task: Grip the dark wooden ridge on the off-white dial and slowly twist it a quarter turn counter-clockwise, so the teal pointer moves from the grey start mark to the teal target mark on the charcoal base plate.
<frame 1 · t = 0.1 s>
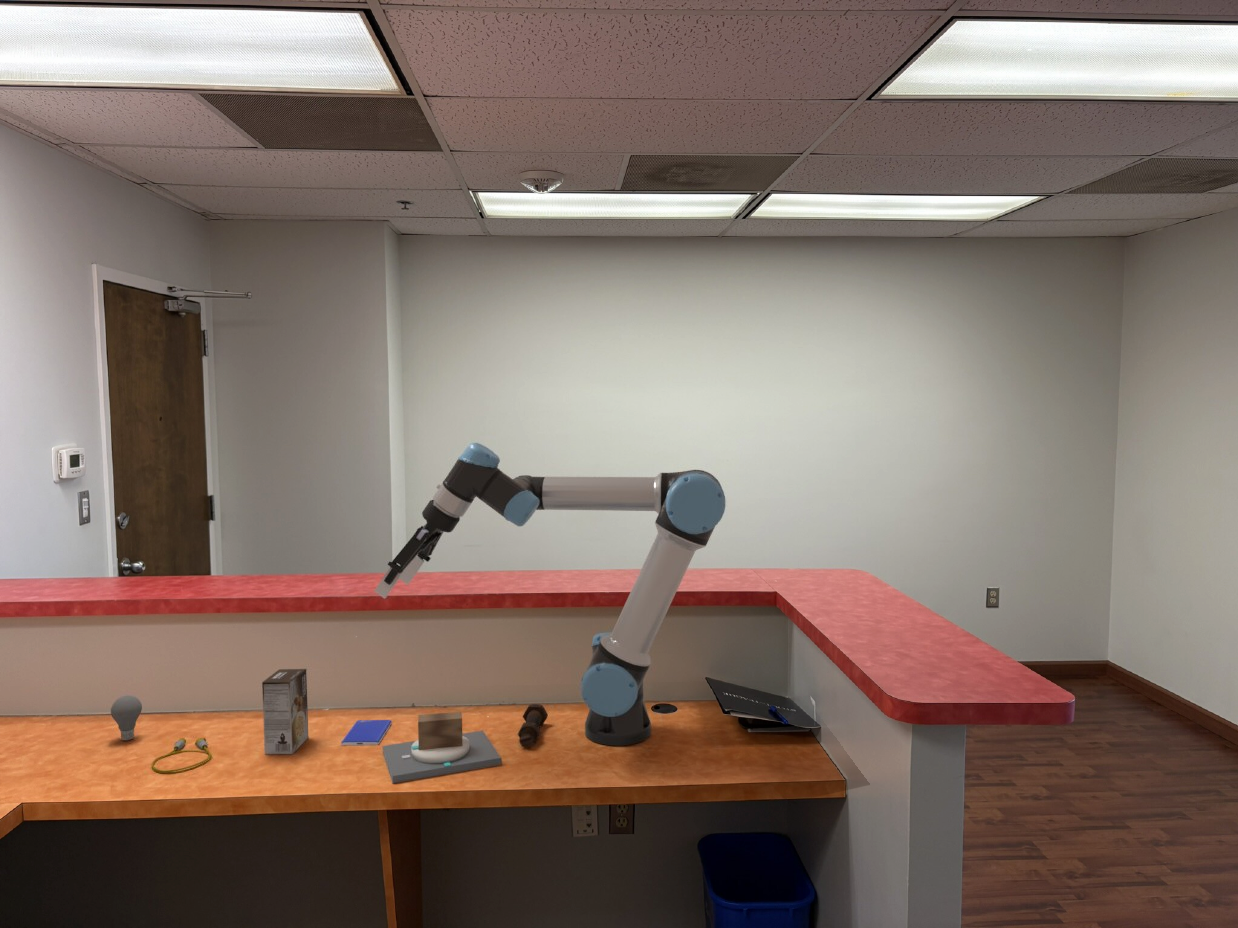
hand: (391, 587, 176), 36 cm above the table, tool tilted 35°, fingers open, 13 cm apart
dial: (440, 733, 173), point 5 cm above the table, hinge at 0.0°
extension cord: (185, 760, 174), on the table
coffee box: (287, 746, 180), on the table
light bulb: (127, 740, 184), on the table
bolt: (530, 738, 185), on the table
hard drive: (367, 737, 187), on the table
dial plate: (440, 758, 174), on the table
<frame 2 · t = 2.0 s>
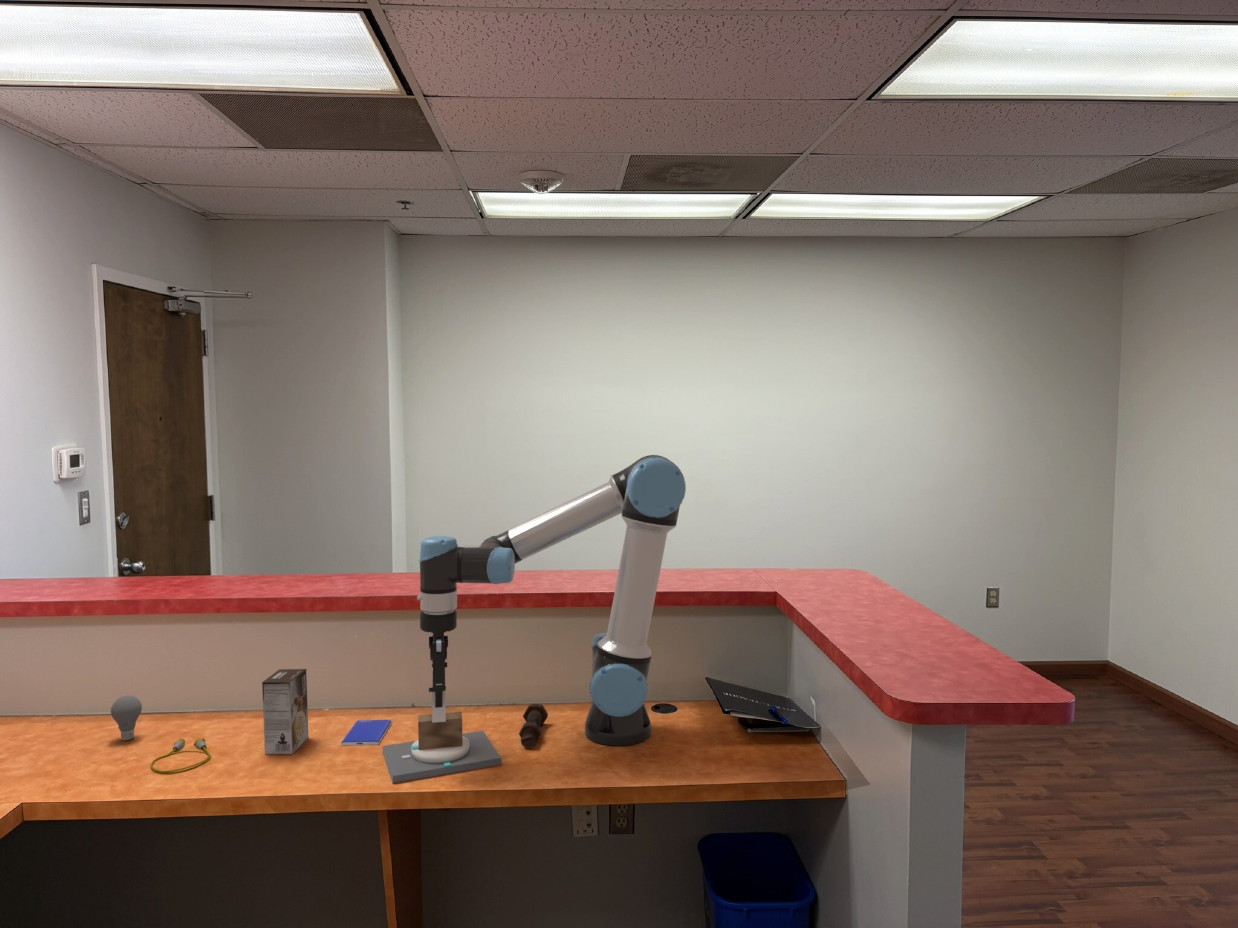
hand: (438, 709, 173), 11 cm above the table, tool pointing down, fingers open, 13 cm apart
nothing on the table moved.
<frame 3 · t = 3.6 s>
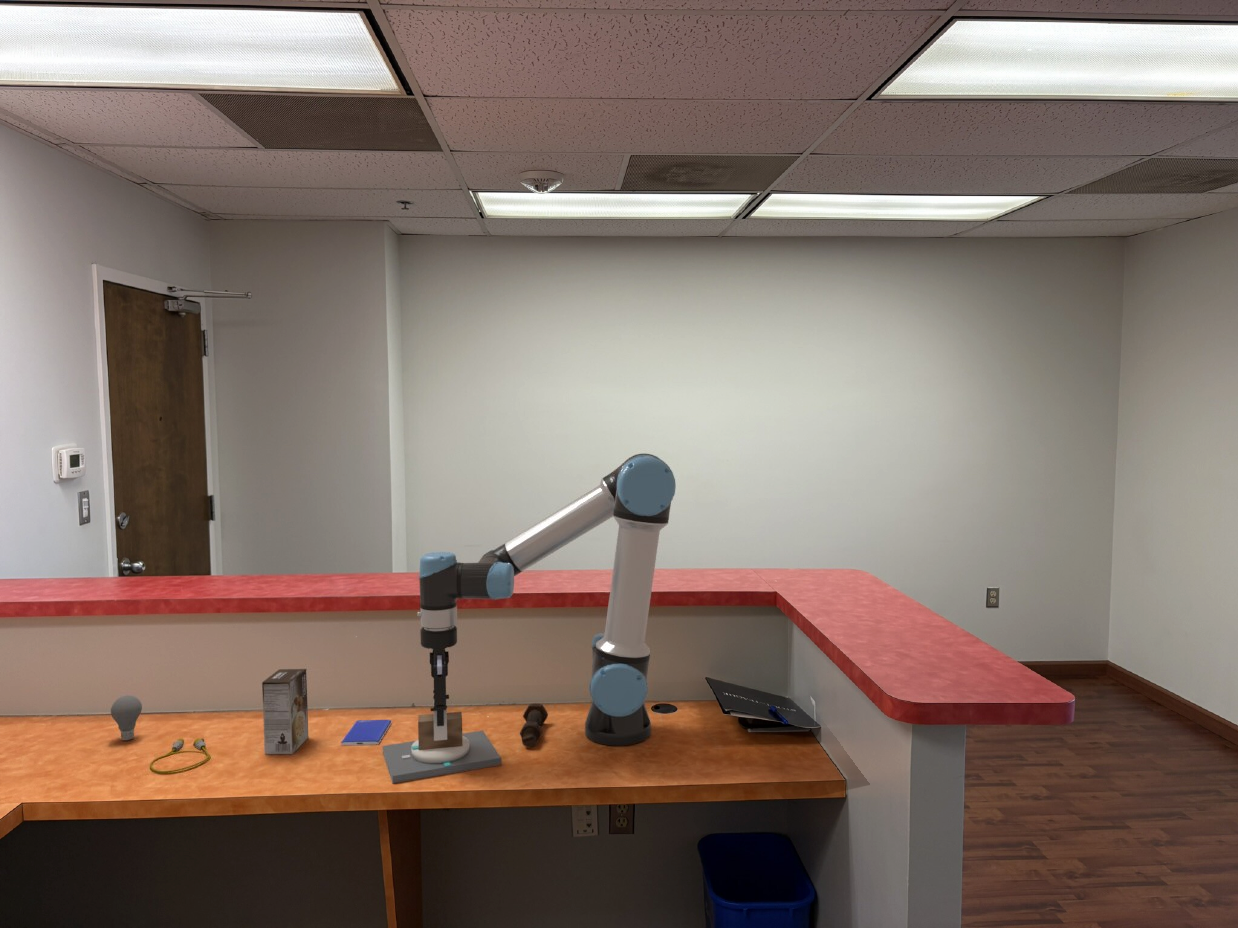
hand: (440, 734, 173), 5 cm above the table, tool pointing down, fingers closed on dial, 4 cm apart
dial: (440, 733, 173), point 5 cm above the table, hinge at 0.0°, touching gripper
everything else where it was.
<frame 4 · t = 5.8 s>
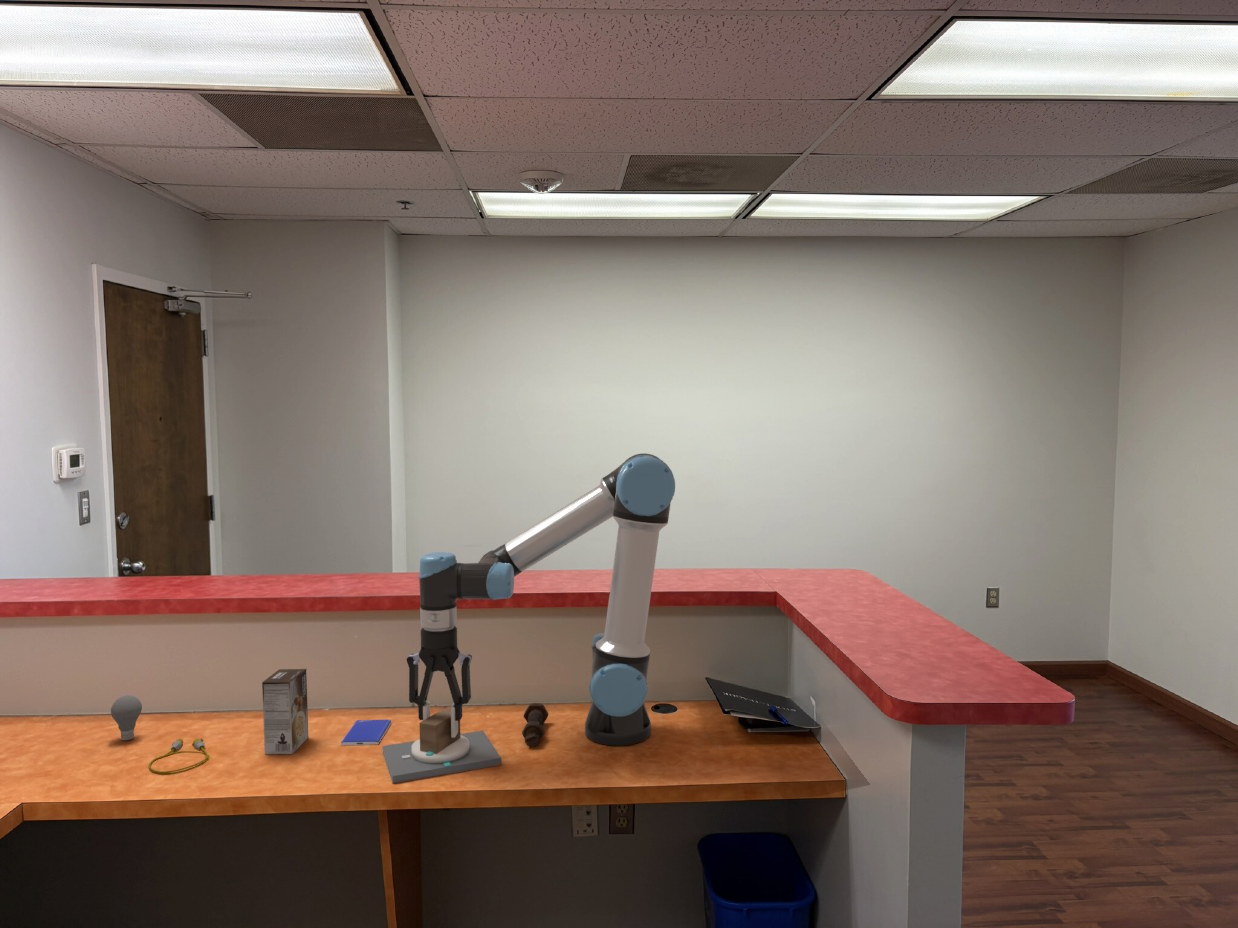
hand: (440, 734, 173), 5 cm above the table, tool pointing down, fingers closed on dial, 5 cm apart
dial: (440, 733, 173), point 5 cm above the table, hinge at 55.3°, touching gripper
everything else where it was.
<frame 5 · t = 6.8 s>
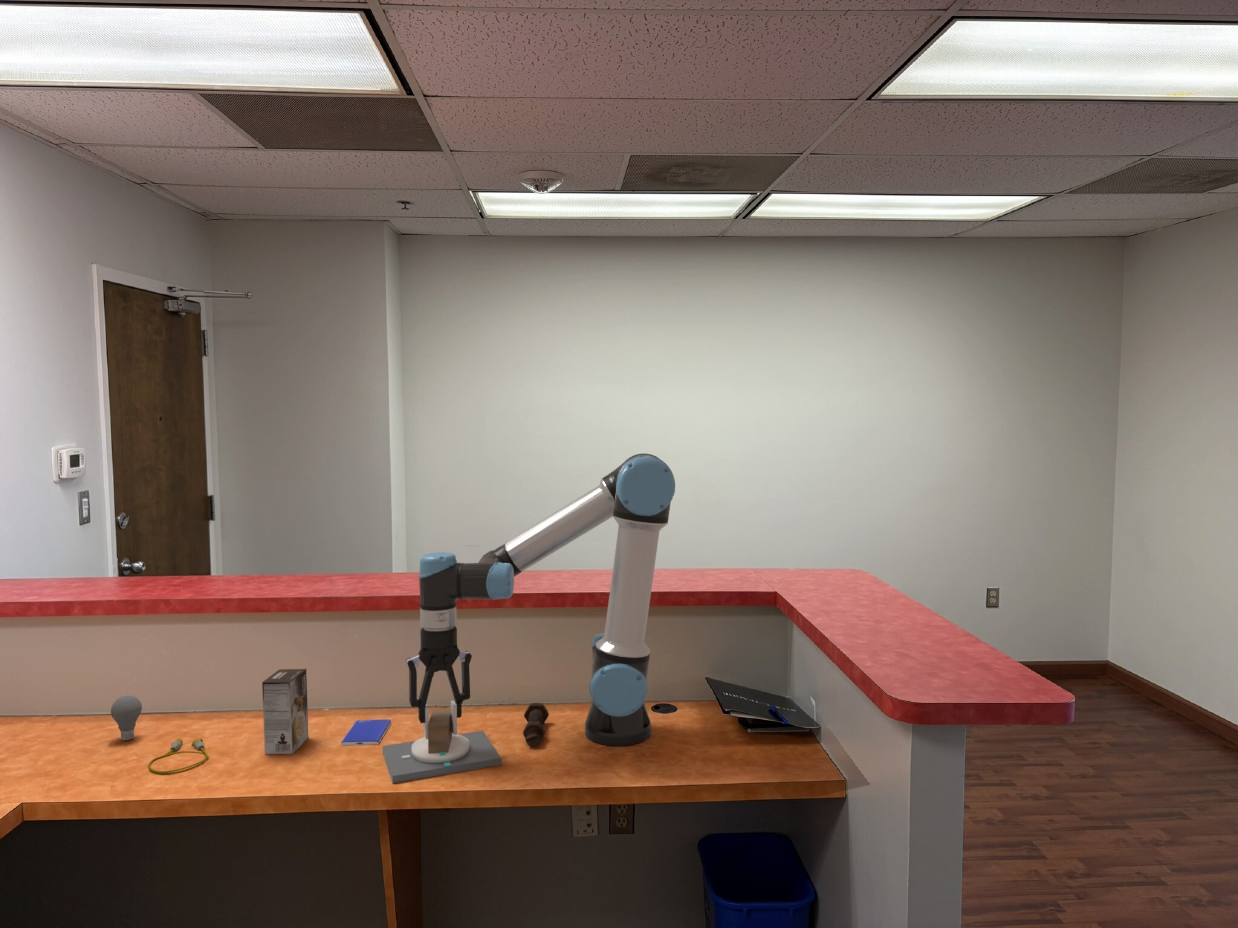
hand: (440, 734, 173), 5 cm above the table, tool pointing down, fingers closed on dial, 5 cm apart
dial: (440, 733, 173), point 5 cm above the table, hinge at 83.4°, touching gripper
everything else where it was.
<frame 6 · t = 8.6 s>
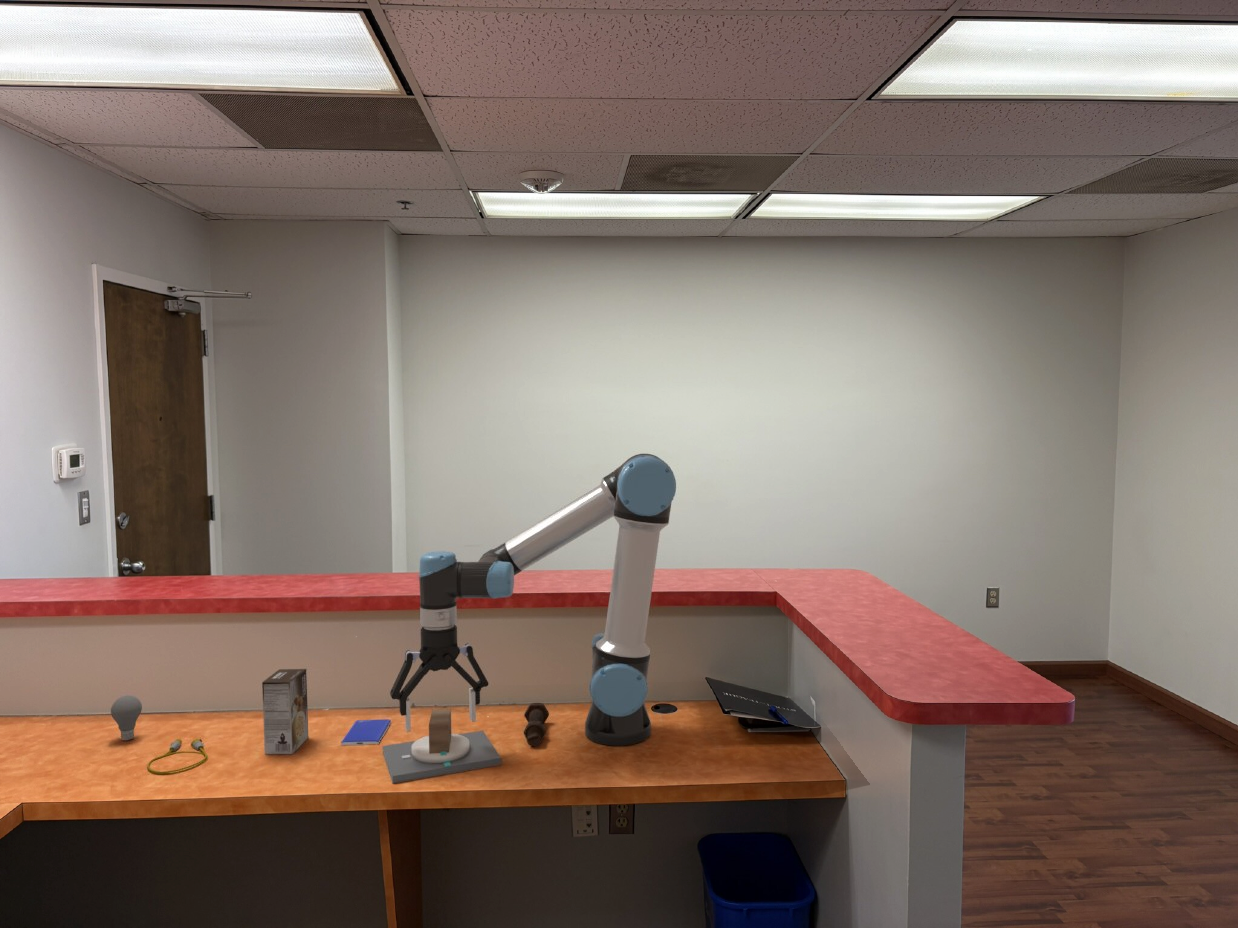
hand: (440, 724, 173), 7 cm above the table, tool pointing down, fingers open, 13 cm apart
dial: (440, 733, 173), point 5 cm above the table, hinge at 85.6°
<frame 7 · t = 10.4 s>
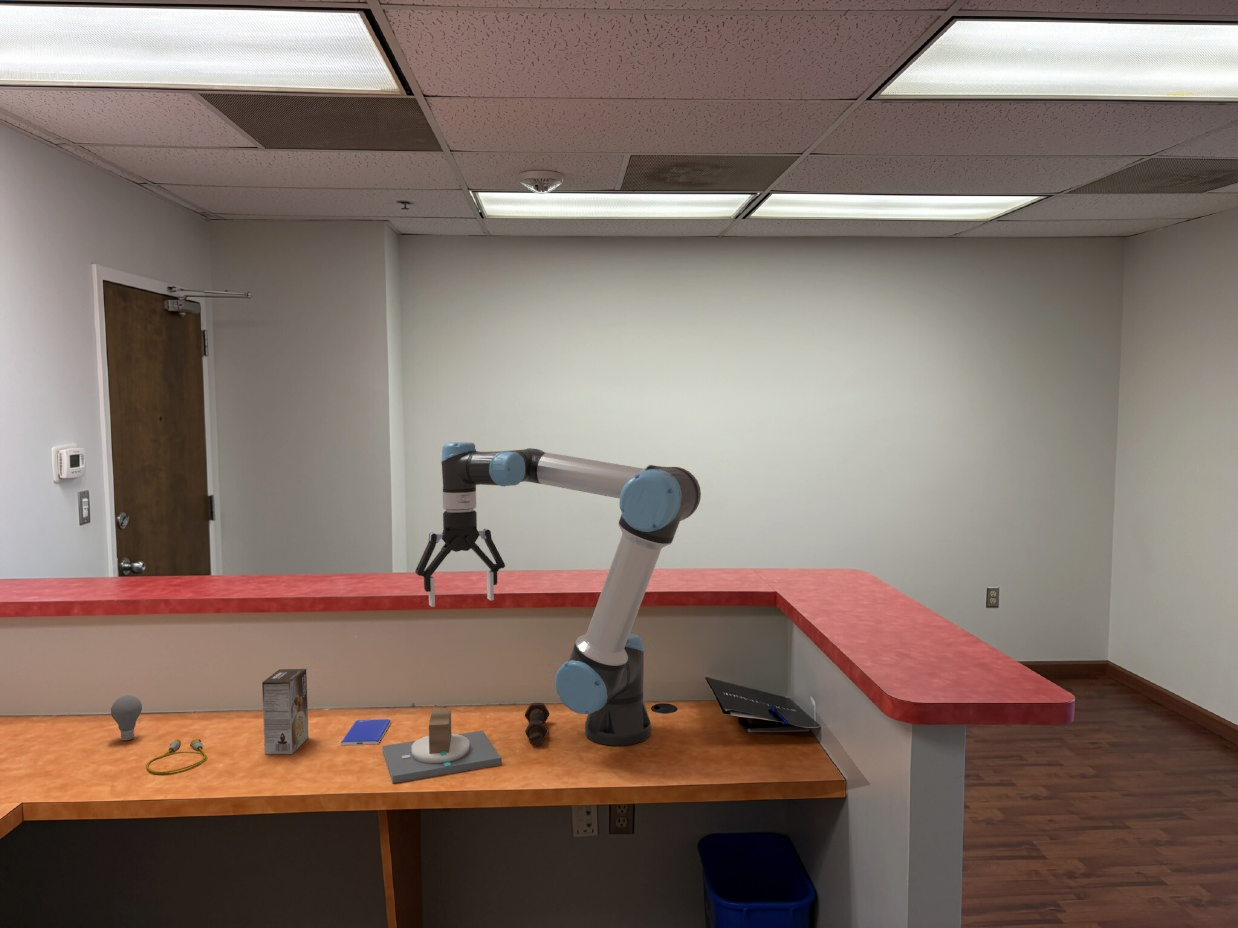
hand: (461, 602, 187), 30 cm above the table, tool pointing down, fingers open, 13 cm apart
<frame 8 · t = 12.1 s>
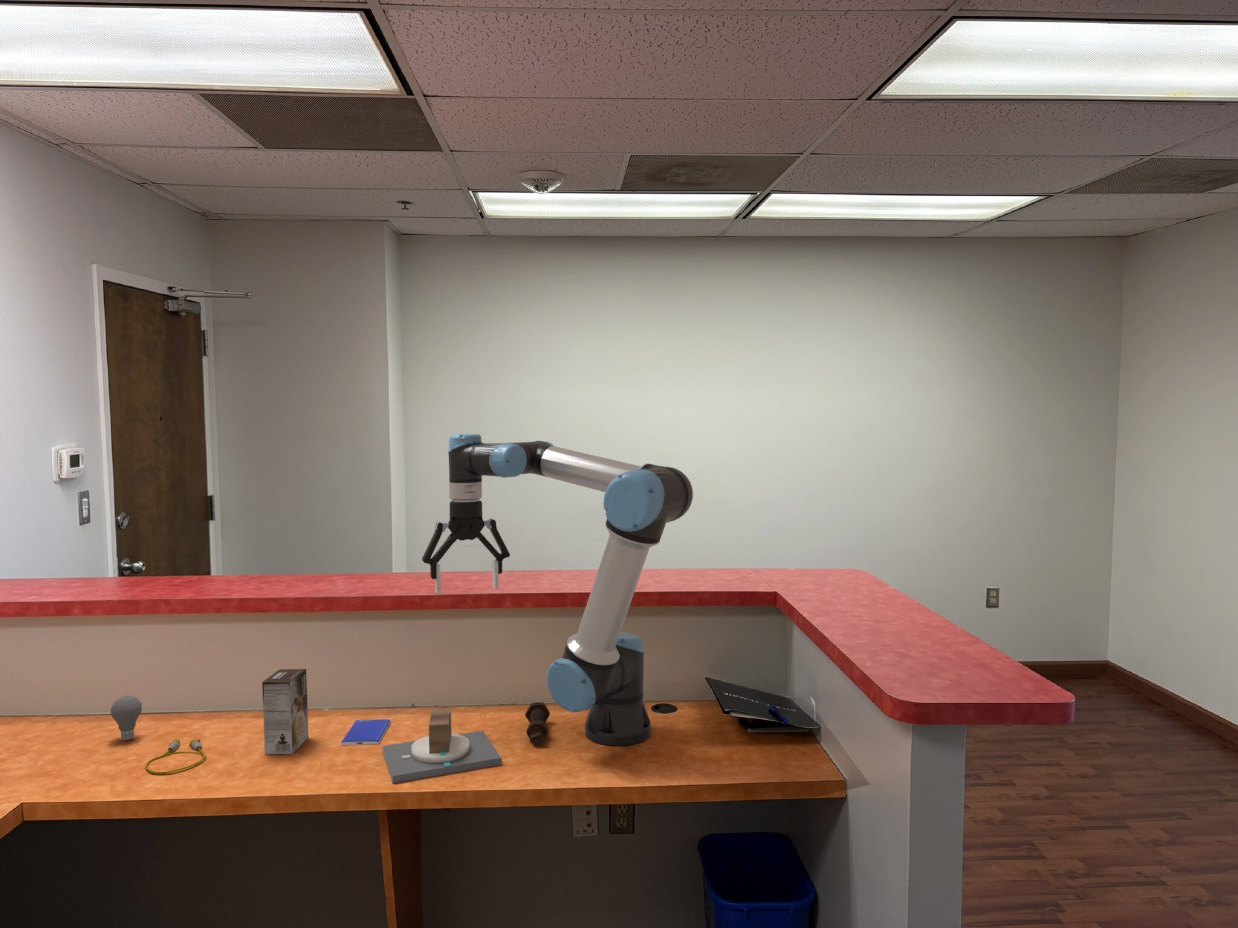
hand: (467, 590, 192), 32 cm above the table, tool pointing down, fingers open, 13 cm apart
at the end: dial at +86° (first picture: +0°); hard drive moved 0.9 cm from its start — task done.
